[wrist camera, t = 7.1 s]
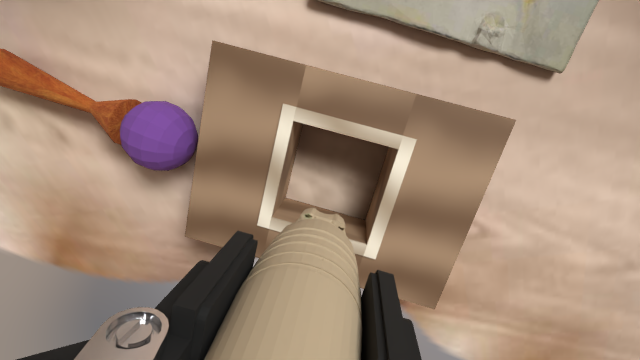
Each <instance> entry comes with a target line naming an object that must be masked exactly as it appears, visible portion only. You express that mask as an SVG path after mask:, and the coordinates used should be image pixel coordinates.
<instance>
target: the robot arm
mask: <svg viewBox="0 0 640 360" xmlns="http://www.w3.org/2000/svg"><path fill="white" fill-rule="evenodd" d="M257 244H258V240H254V239H253V235H252V234H249V233H245V232H241V231H237V232H236V233H235V234H234V235H233V236H232V237H231V238H230V240H229V241H228V242H227V243H226V244H225V245H224V246H223V248H222V249H221V250H220V251H219V252H218V253H217V254H216V256H215V257H214V258H213V259H212V260H211V261H210V262H206V261H203V260H202V261H199V262H198V263H197V264H196V265H195V266H194V267H193V268H192V269H191V270H190V271H189V273H188V274H187V275H186V276H185V277H184V278H183V279H182V280H181V281H180V282H179V283H178V284H177V285H176V286H175V287H174V288H173V290H172V291H171V292H170V293H169V294H168V295H167V296H166V297H165V298H164V299H163V300H162V301H161V302H160V304H158V305H157V307H156V308H155V309H153V308H149V307H137V308H130V309H127V310H124V311H121V312H118V313H117V314H115V315H113V316H112V317H110V318H108V320H106V322H104V323H103V324H102V325H101V327H100V328H99V329H98V330H97V332H96V333H95V334H94V335H93V336H92V338H91V339H90V340H87V341H83V342H80V343H76V344H72V345H69V346H65V347H61V348H58V349H54V350H50V351H47V352H43V353H39V354H35V355H32V356H28V357H25V358H21V359H17V360H204V359H205V357H206V355H207V353H208V351H209V349H210V347H211V345H212V343H213V341H214V339H215V336H216V334H217V332H218V330H219V328H220V326H221V324H222V322H223V320H224V318H225V316H226V314H227V312H228V310H229V308H230V306H231V304H232V302H233V300H234V298H235V296H236V294H237V293H238V291H239V289H240V288H241V286H242V284H243V283H244V281H245V279H246V278H247V276H248V275H249V273H250V271H251V270H252V268H253V263H254V259H255V254H256V249H257ZM361 307H362V308H361V311H362V346H361V360H421V356H420V352H419V348H418V343H417V339H416V335H415V332H414V327H413V324H412V321H411V320H409V319H405V318H403V317H402V312H401V307H400V302H399V298H398V293H397V288H396V283H395V278H394V275H393V274H391V273H387V272H384V271H380V270H377V271H376V272H375V273H372V272H370V274H369V276H368V279H367V282H366V285H365V288H364V291H363V294H362V297H361Z"/></svg>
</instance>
